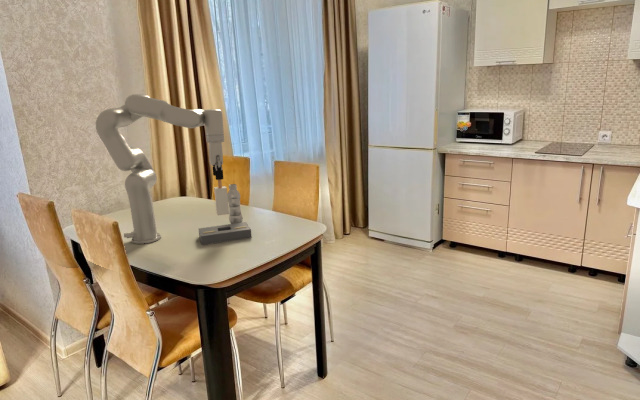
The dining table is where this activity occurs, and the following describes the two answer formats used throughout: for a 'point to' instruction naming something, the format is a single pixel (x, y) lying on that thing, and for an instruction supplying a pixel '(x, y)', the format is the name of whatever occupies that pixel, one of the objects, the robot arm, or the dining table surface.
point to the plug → (221, 199)
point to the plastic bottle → (234, 205)
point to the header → (224, 233)
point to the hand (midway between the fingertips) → (218, 177)
